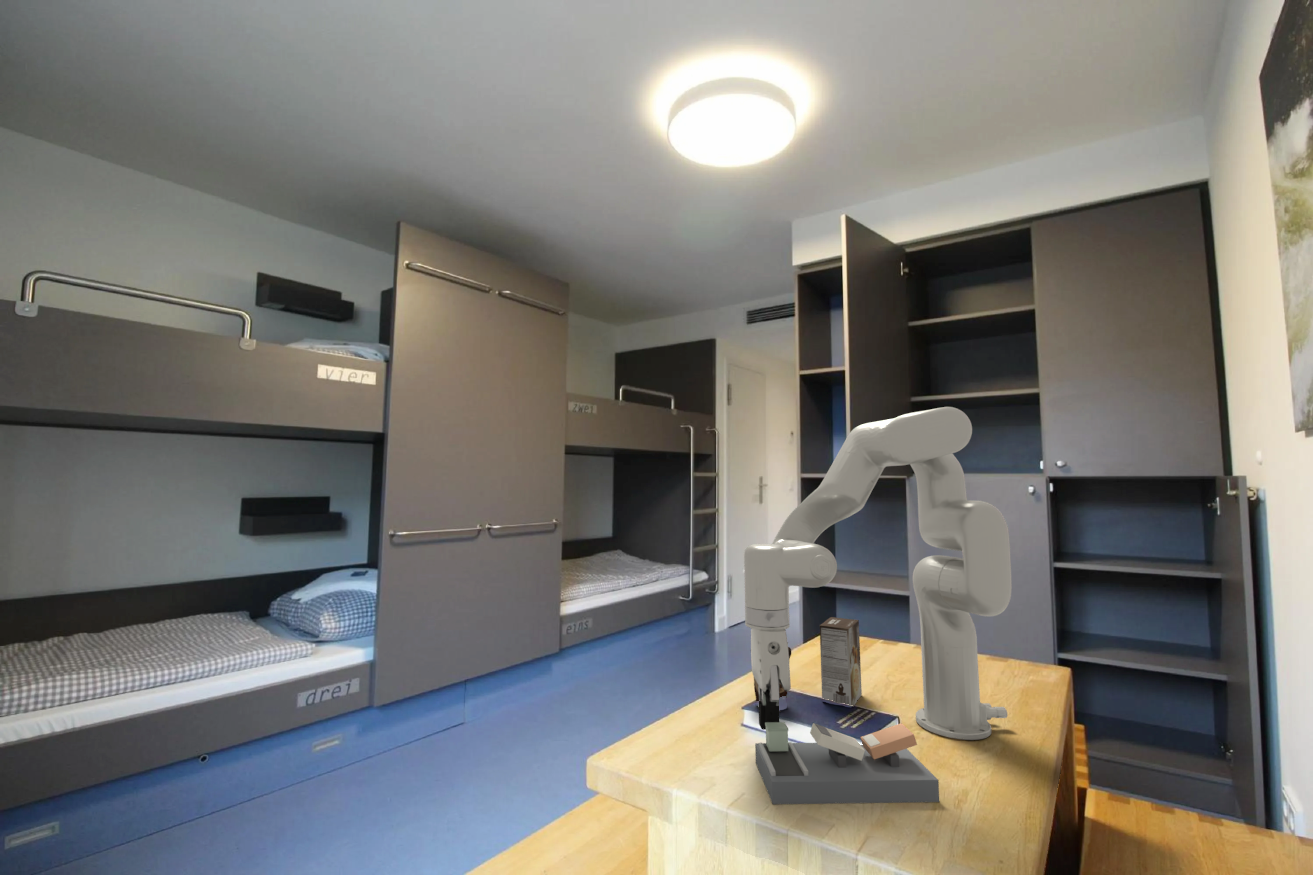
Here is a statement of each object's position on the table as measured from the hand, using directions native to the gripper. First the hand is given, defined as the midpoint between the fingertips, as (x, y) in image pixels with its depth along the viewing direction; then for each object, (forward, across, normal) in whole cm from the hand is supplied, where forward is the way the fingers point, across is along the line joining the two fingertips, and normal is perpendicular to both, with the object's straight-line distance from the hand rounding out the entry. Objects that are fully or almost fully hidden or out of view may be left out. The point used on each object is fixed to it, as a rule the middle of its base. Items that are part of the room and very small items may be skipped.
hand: (769, 727), depth 93 cm
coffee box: (+4, +24, -21) cm, 32 cm away
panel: (+4, -9, -9) cm, 13 cm away
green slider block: (+1, -5, 0) cm, 5 cm away
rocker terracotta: (-2, -9, -17) cm, 19 cm away
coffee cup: (+4, +20, -5) cm, 21 cm away
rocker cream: (-2, -9, -9) cm, 12 cm away
